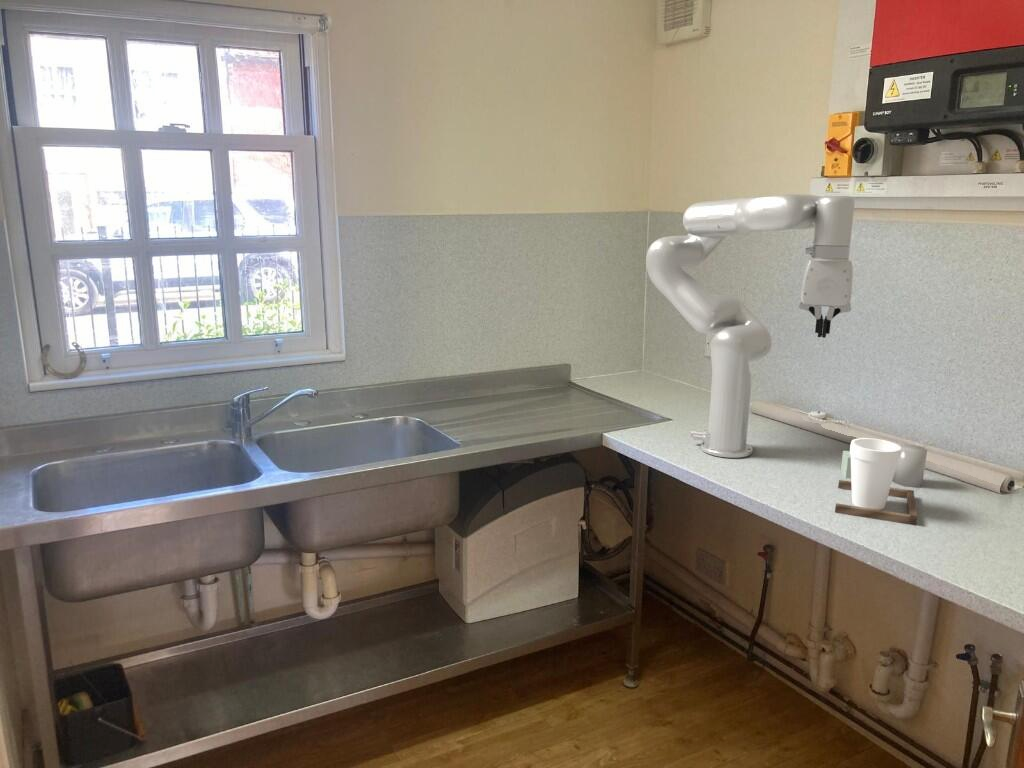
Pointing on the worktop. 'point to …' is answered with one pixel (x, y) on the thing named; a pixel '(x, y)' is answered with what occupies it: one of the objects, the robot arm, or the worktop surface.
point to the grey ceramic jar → (910, 466)
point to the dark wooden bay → (880, 514)
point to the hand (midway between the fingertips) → (821, 336)
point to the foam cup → (872, 471)
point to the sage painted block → (846, 464)
